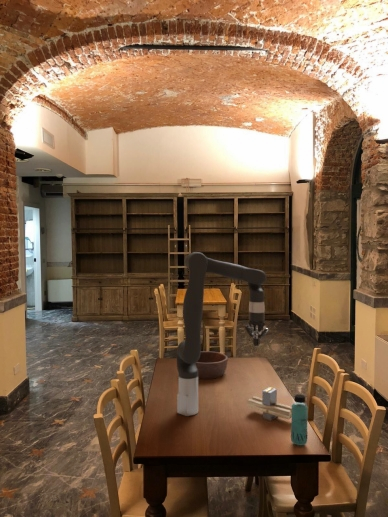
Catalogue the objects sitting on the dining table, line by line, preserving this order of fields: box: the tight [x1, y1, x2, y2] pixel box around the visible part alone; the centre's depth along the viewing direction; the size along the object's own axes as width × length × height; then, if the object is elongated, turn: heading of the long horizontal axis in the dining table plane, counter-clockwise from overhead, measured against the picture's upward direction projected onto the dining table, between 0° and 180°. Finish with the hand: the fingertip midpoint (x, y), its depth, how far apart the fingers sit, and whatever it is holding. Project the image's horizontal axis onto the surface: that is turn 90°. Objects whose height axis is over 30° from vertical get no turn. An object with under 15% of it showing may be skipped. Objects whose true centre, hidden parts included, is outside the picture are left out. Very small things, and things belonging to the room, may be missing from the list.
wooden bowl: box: [195, 350, 229, 380], centre depth 250 cm, size 25×25×10 cm
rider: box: [261, 386, 278, 406], centre depth 191 cm, size 6×4×8 cm, turn 141°
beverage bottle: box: [290, 393, 309, 446], centre depth 165 cm, size 6×7×20 cm
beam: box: [246, 395, 292, 422], centre depth 190 cm, size 7×21×6 cm, turn 51°
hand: (256, 345), depth 204 cm, fingers closed
